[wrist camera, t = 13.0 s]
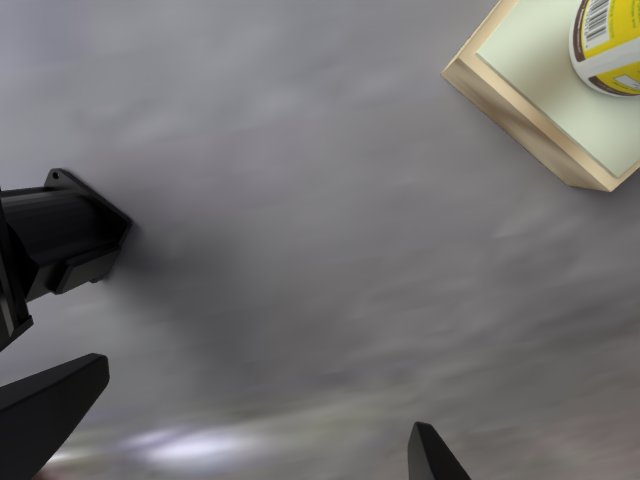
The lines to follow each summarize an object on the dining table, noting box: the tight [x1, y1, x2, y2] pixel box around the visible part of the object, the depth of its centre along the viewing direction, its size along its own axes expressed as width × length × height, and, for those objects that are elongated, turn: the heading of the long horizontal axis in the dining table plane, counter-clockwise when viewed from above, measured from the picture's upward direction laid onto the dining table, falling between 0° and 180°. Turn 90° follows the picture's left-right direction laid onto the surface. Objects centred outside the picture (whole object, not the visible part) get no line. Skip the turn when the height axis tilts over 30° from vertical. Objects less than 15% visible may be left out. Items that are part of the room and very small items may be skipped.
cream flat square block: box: [440, 0, 640, 192], centre depth 14 cm, size 10×10×4 cm
